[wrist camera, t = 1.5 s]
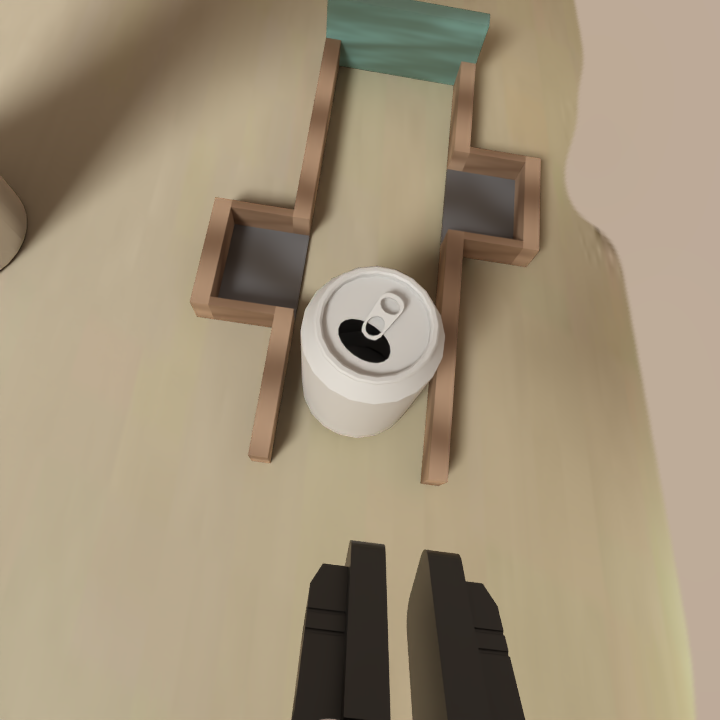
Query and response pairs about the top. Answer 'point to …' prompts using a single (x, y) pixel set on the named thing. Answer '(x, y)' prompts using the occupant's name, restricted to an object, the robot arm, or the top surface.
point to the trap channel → (292, 226)
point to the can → (368, 349)
